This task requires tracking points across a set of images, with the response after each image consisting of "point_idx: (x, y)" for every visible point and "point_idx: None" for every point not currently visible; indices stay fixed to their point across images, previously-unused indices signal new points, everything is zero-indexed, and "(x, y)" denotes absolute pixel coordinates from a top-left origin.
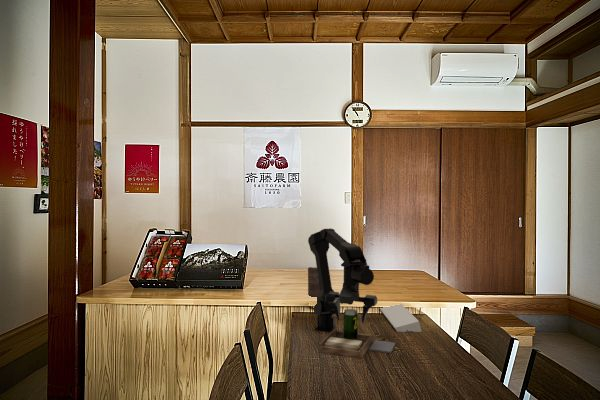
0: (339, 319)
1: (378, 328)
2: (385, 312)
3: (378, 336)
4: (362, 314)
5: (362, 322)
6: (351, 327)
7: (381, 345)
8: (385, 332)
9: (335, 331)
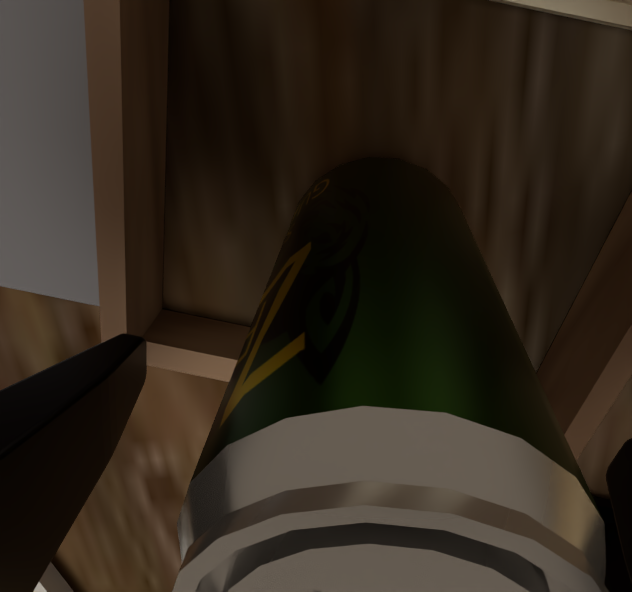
0: (618, 468)
1: (172, 575)
2: None
3: (132, 433)
4: (2, 459)
5: (129, 341)
6: (361, 235)
7: (7, 154)
8: (102, 513)
9: (568, 403)
